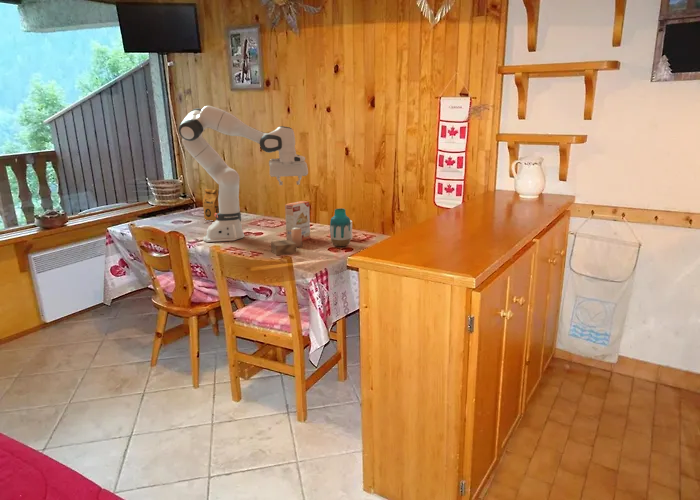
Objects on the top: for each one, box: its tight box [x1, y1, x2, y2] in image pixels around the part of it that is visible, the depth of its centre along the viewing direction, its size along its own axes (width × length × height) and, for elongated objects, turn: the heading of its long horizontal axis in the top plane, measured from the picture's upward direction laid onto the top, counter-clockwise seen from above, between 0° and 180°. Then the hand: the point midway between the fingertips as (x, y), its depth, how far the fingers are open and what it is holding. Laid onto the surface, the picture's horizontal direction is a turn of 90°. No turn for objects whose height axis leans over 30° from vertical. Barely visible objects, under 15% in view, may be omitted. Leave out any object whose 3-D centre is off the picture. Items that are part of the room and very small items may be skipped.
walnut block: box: [270, 239, 297, 256], centre depth 253 cm, size 10×10×5 cm
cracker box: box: [284, 200, 311, 242], centre depth 274 cm, size 14×6×21 cm, turn 147°
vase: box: [329, 207, 351, 247], centre depth 261 cm, size 11×11×19 cm
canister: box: [291, 227, 303, 249], centre depth 263 cm, size 5×5×10 cm
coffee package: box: [202, 188, 219, 221], centre depth 330 cm, size 10×12×22 cm
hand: (289, 184), depth 269 cm, fingers open, 8 cm apart
